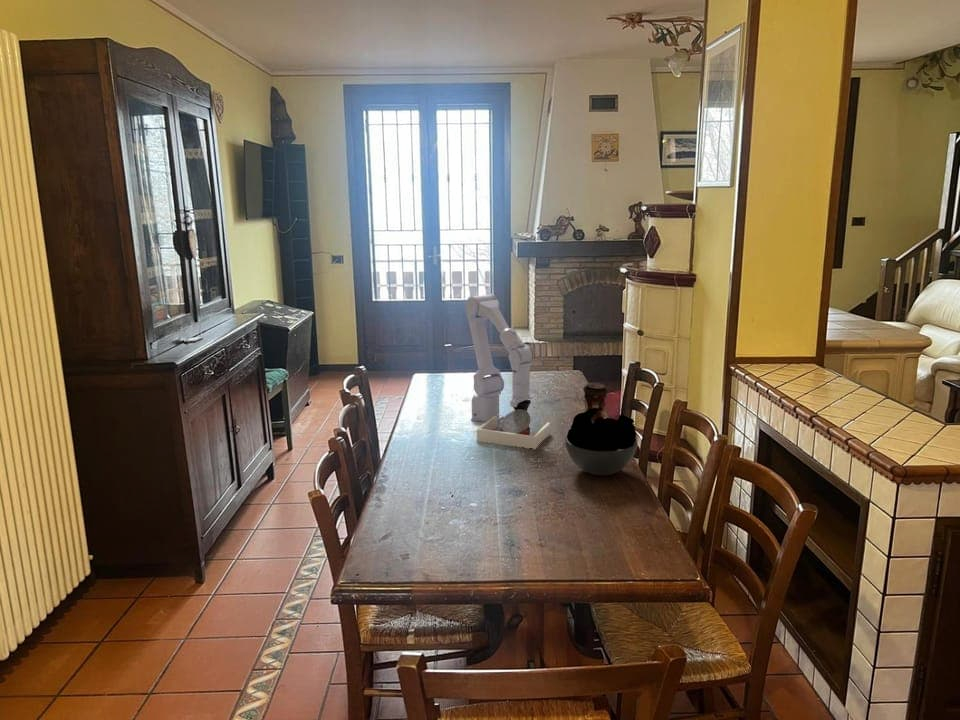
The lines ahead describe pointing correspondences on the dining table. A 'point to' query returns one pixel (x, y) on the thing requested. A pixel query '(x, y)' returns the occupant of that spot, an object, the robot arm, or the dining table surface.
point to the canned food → (516, 422)
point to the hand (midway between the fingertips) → (521, 421)
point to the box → (510, 435)
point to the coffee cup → (595, 399)
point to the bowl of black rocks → (601, 443)
